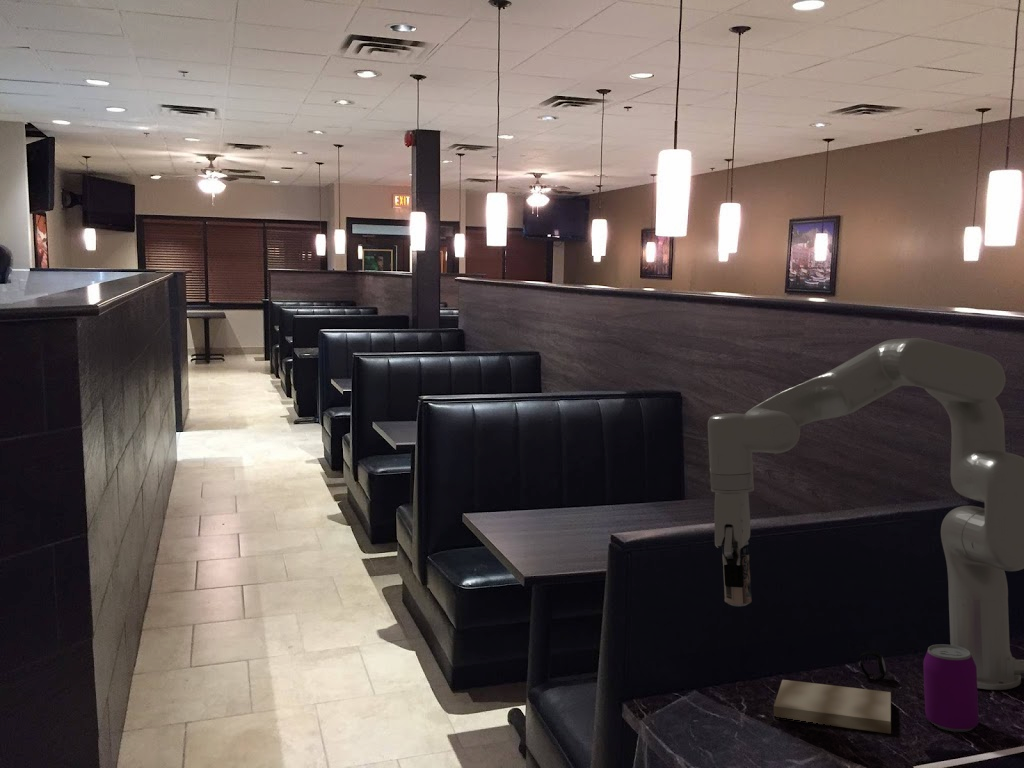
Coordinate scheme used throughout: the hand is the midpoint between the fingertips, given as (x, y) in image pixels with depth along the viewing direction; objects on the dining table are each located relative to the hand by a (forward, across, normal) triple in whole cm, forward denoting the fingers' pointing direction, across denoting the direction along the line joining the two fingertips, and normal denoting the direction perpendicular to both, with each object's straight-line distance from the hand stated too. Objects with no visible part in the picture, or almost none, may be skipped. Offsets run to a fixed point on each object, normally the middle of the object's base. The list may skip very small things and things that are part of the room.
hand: (737, 581), depth 145 cm
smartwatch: (+21, -16, +21) cm, 34 cm away
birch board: (+21, +1, +15) cm, 26 cm away
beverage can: (+21, 0, +33) cm, 40 cm away
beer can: (+4, 0, 0) cm, 4 cm away
